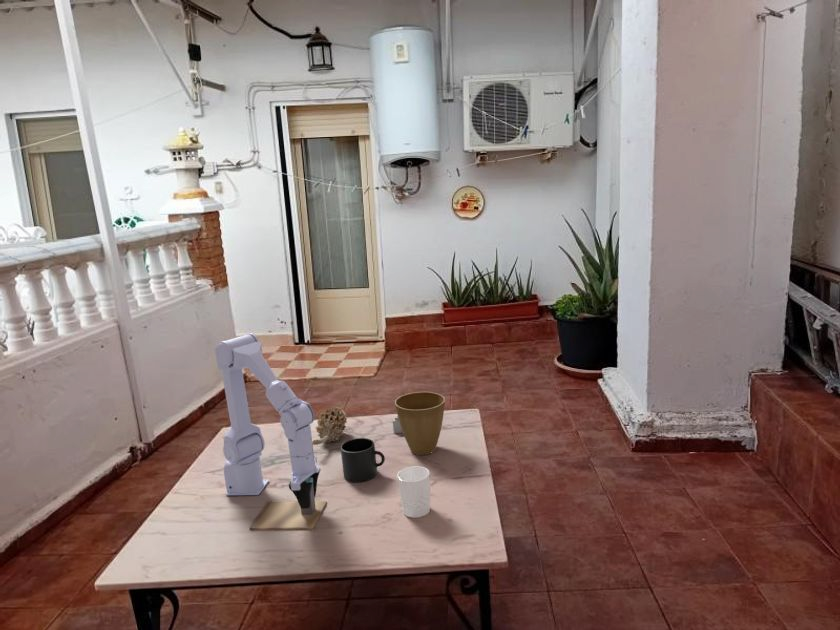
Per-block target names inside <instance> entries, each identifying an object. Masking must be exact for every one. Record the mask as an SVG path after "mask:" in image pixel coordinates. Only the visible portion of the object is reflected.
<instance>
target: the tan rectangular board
mask: <svg viewBox="0 0 840 630" xmlns="http://www.w3.org/2000/svg"><path fill="white" fill-rule="evenodd" d="M327 503H328V502H327V501H326V500H321V501H320V500H317V501H316V500H315V507H316V509H315V511H314V513H313V514H312V515H301V507H300V505H299V503H298V500H297V501H266V503H265V504H264V506H263V507H262V509H261V510H260V511H259V513H258V514H257V516H256V517H255V519H254V520H253V522H252V523H251V524H250V526H249V527H248V529H249V530H250V531H251V530H252V531H254V530H256V531H257V530H260V531H261V530H262V531H263V530H266V531H268V530H271V531H272V530H279V531H280V530H282V531H283V530H285V531H286V530H314V529H315V527H316V525H317V523H318V522H319V519H320V517H321V515H322V513H323V511H324V509H325V507H326V505H327Z"/></svg>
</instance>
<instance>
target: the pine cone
mask: <svg viewBox="0 0 840 630" xmlns="http://www.w3.org/2000/svg"><path fill="white" fill-rule="evenodd" d="M346 414H347V413H346V411H344V410H342V409H341V407H338V406H335V407H334V408H333V407H330V408H329V409H325V411H322V412H321V413H320V414H319V417H318V418H319V419H317V425H316V427H315V430H316V433H318V435H317V436H318V437H319V439H313V440H312V443H313V446H314V445H315V446H316V445H321V444H323V443H324V442H325V443H328V444H329V443H330V444H331V442H332V441H333V442H337V441H339V440H340V438H339V437H341V436H343V434H344V431H345V430H346V428H347V426H346V423H347V422H348V421H347V419H348V418H347V416H346Z"/></svg>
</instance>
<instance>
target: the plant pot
mask: <svg viewBox="0 0 840 630" xmlns="http://www.w3.org/2000/svg"><path fill="white" fill-rule="evenodd" d="M445 402H446V398H445V396H443V395H442V394H439V393H437V392H431V391H416V392H410V393H406V394H404V395H400V396H398V397H397V398H396V399H395V400H394V406H395V409H396V410H395V411H396V415H397V416H398V419H399V422H400V425H401V428H402V431H403V433H402V434H403V436H404V439H405V441H406V444H407V446H408V448H409V450H410V452H411V453H413V454H414V455H417V454H418V456H425V455H424V454H427V455H430V454H432V453H434V452H435V451H434V450H436V448H437V445H438V442H439V439H440V435H441V430H442V425H443V421H444V413H445V405H446V403H445ZM433 451H434V452H433ZM431 452H432V453H431ZM429 453H430V454H429Z"/></svg>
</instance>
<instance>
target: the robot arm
mask: <svg viewBox="0 0 840 630" xmlns="http://www.w3.org/2000/svg"><path fill="white" fill-rule="evenodd" d="M214 352H215V358H216V363H217V369H218V371H221V376H222V382H223V387H224V393H225V399H226V405H227V411H228V415H229V420H230V421H229V422H230V428H229V429H227V431H226V433H225V434H224V435H223V448H222V452H223V455H224V458H225V459H226V460H225V462H224V467H223V475H224V483H225V487H226V492H225V496H258V495H260V494H261V492H262V491H263V490H264V488H266V486H267V485H268V483H269V481H270V479H268V478H267V479H266V478H264V477H263V471H262V463H261V456H262V455H263V454H262V452H263V451H264V450H265V439H264V437H263V435H262V432H261V427H259V426H258V425H257V424H255V423H252V421H251V413H250V408H249V403H248V397H247V390H246V383H245V380H244V379H245V378H244V373H243V372H244V371H243V369H248V370H249V371H250V372H251V374H253V376H254V377H256V379H257V380H258V381H259V382H260V383H261V384H262V385H263V387H264V388H265V397H266V399H268V401H269V402H270V404H271V405H272V407H273V408H274V409H275V410H276V411H277V413H278V414H279V415H280V418H279V422H280V426H281V427H282V429H283V431H284V436H285V438H286V439H287V442H288V450H289V457H290V464H291V465H290V466H291V471H290V473H291V481H290V482H289V484H288V488H289V490H290V491H291V492H292V493H293V495H294V496H295V498H296V500H297V501H298V503H299V505H300V507H301V509H304V508H309V507H310V492H311V487H312V484H313V488H314V498H316V497H317V496H316V494H317V486H318V479H319V475H320V473H321V466H318V465H317V463H318V458H317V454H316V455H315V451H314V445H313V437H312V429H311V427H312V426H311V425H312V424H313V423H314V421H315V413H314V410H313V408H312V406H311V404H310V403H309V402H307V401H304V400H303V399H302V398H298V396H297V395H296V394H295V393H294V392H293V390H292V389H291V387H290V386H289V385H288V384H287V382H286V381H284V380H279V379H278V378H277V376H276V374H275V373H274V371H273V370H272V368H271V367H270V365H269V363H268V362H267V361H266V359H265V358H264V356H263V347H262V343H261V342H260V341H259V338H258V337H257V336H256V335H255V334H254V333H251V332H250V333H246V334H245V335H244V334H243V335H241V336H238V337H234V338H230V339H227V340H221V341H219V342H218V343H217V345H216V346H215V347H214ZM308 477H313V482H306V481H305V480H306V479H307V478H308Z"/></svg>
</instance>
